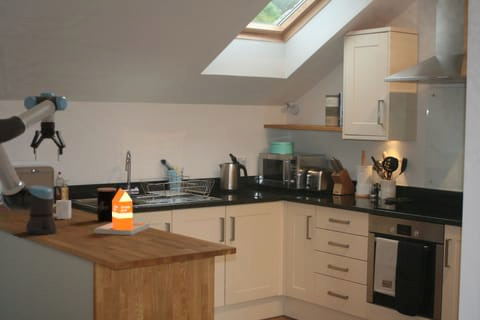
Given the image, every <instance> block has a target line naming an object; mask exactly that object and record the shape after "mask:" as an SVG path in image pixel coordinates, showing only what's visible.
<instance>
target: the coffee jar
mask: <svg viewBox="0 0 480 320" xmlns="http://www.w3.org/2000/svg"><path fill="white" fill-rule="evenodd" d="M96 190H97V194H96V197H97V199H96V200H97V203H96V204H97V205H96V206H97V207H96V208H97V214H96V215H97V220H98V221H99V222H102V221H110V222H112V200H113V199H114V197H115V195H116V194H117V188H115V187H99V188H96Z"/></svg>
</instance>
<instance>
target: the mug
mask: <svg viewBox="0 0 480 320" xmlns="http://www.w3.org/2000/svg"><path fill="white" fill-rule="evenodd" d="M55 207H56V208H55ZM54 208H55V209H56V210H55V211H56V213H54V212H53V217H56V220H60V219H65V220H70V219H71V218H72V200H70V199H60V200H55V203H53V209H54Z"/></svg>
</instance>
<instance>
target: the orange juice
mask: <svg viewBox="0 0 480 320" xmlns="http://www.w3.org/2000/svg"><path fill="white" fill-rule="evenodd" d="M132 222H133V200H132V198H131V197H130V195H129V194H128V192H127V191H126V190H123V189H121V188H120V189H118V191H116V195H115V197H114V199H113V200H112V221H111V223H112V228H114V229H117V230H126V229H133V227H132Z"/></svg>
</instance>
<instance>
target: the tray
mask: <svg viewBox="0 0 480 320" xmlns="http://www.w3.org/2000/svg"><path fill="white" fill-rule="evenodd" d="M132 227H133V229H126V230H117V229H114V228H112V222H109V223H107V224H104V225H100V226H99V227H96V228H94V234H99V235H100V234H103V235H104V234H105V235H120V236H121V235H123V236H132V235H135V234H137V233H140V232H142V231H145V230H147V229H150V223H149V222H135V221H132Z"/></svg>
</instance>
